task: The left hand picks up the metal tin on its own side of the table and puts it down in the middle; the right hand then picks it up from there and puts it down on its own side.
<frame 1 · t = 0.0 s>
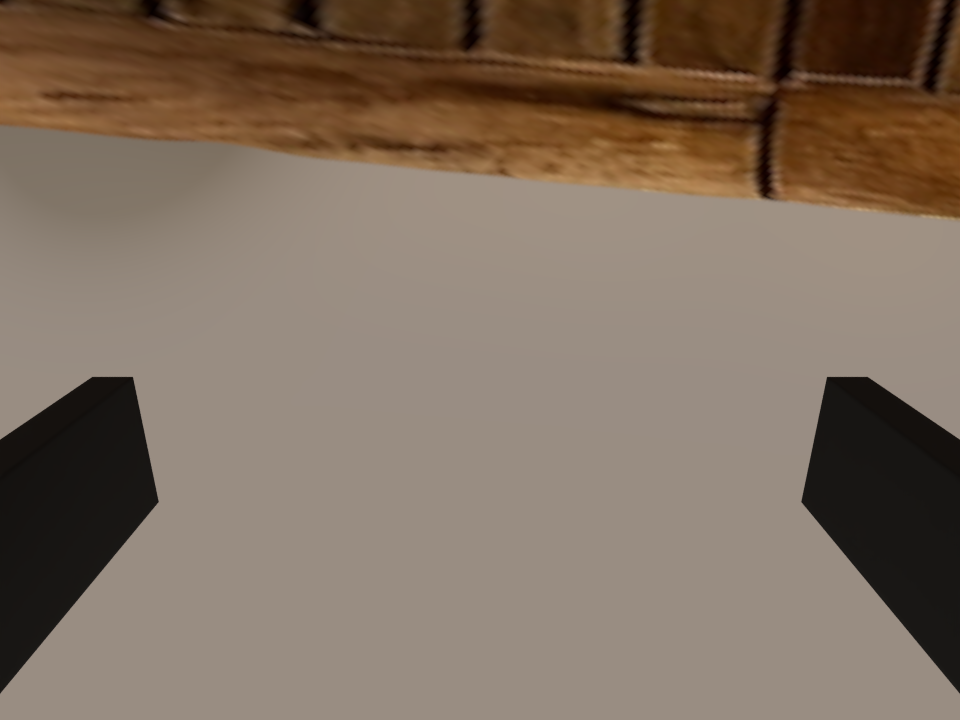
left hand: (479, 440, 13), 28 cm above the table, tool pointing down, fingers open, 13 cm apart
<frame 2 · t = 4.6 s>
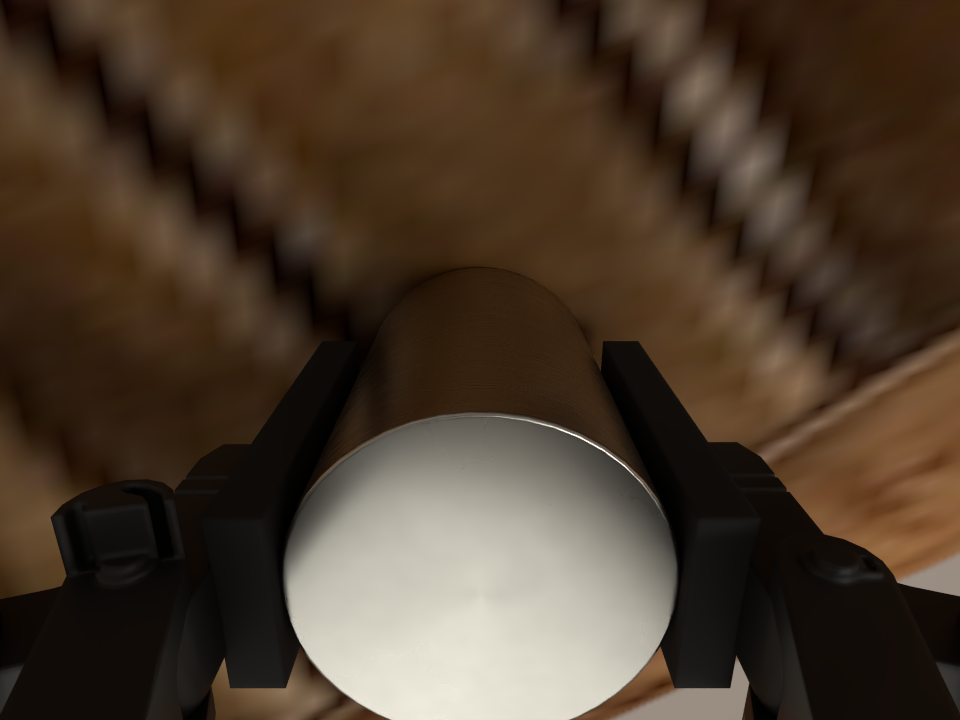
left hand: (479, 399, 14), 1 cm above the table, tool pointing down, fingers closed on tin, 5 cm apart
tin: (480, 374, 16), on the table, touching left hand
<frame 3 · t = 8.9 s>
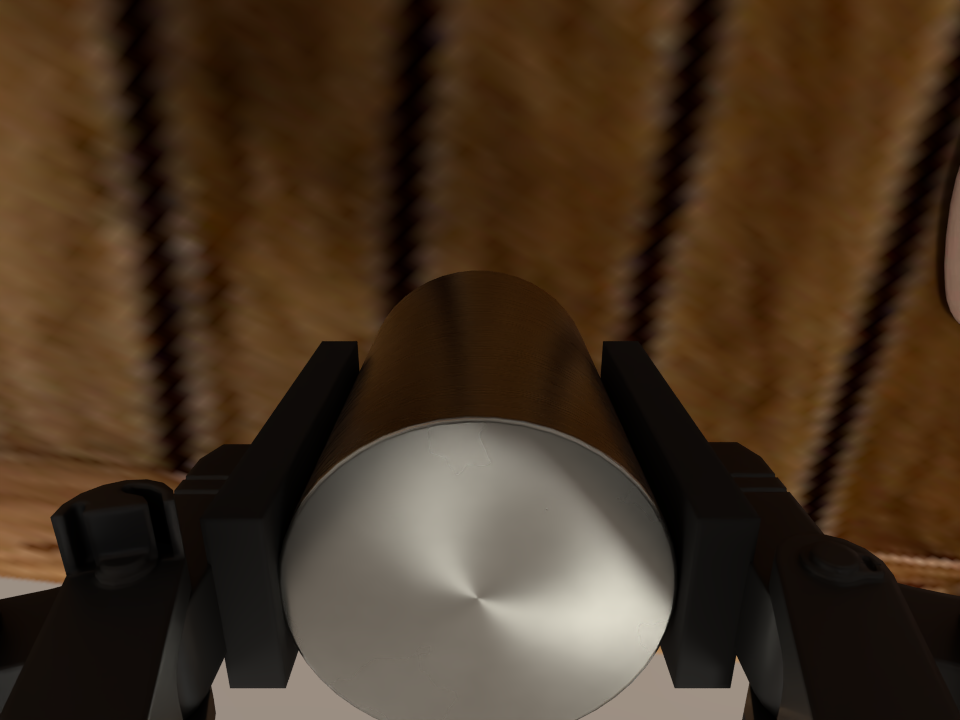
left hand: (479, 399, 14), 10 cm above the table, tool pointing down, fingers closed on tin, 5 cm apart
tin: (478, 376, 16), point 8 cm above the table, touching left hand
when the left hand's fingers open (3 cm above the table, at t = 13.4 s): tin drops 2 cm, on the table.
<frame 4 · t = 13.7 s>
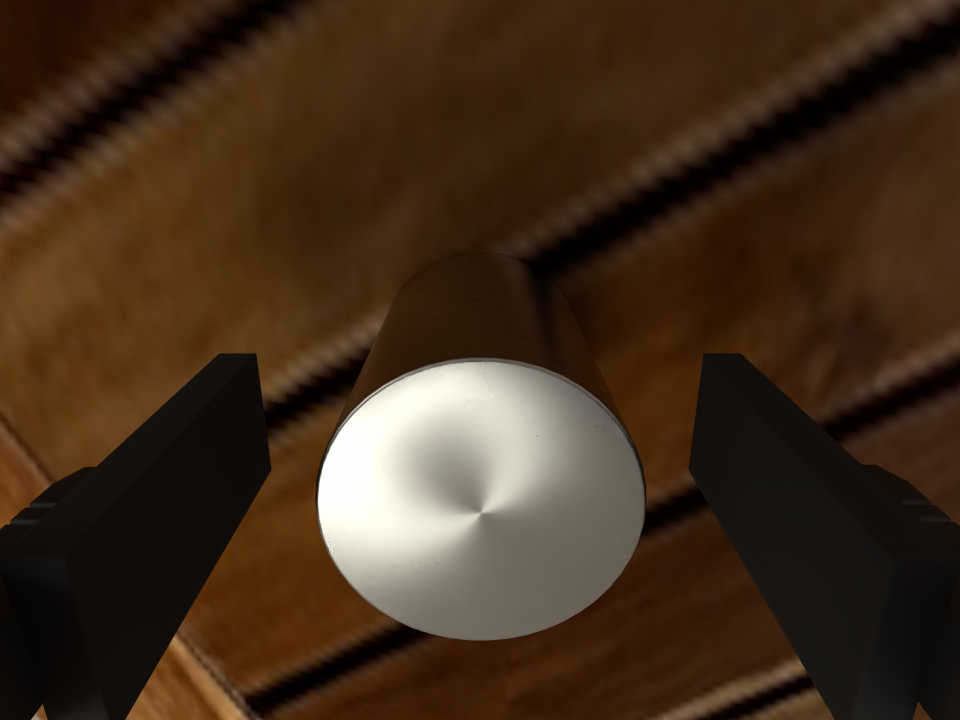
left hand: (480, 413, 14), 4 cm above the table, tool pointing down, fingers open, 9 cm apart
tin: (480, 348, 17), on the table
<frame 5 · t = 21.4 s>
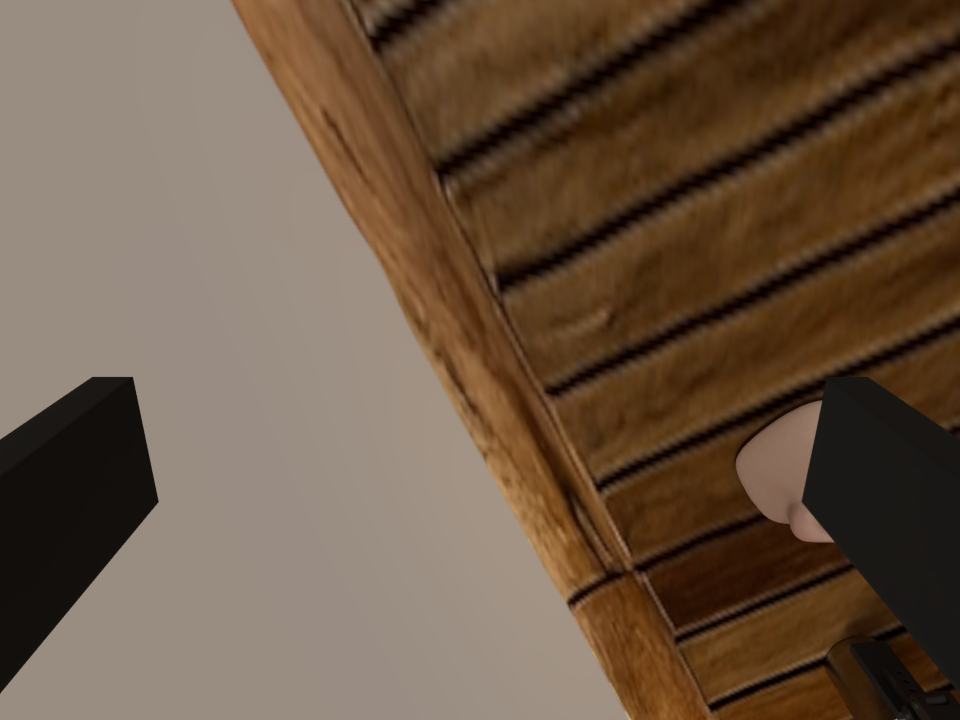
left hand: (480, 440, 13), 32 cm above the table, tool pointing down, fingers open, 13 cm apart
anatomical model: (826, 466, 49), on the table
tin: (855, 659, 56), on the table, touching right hand
when the right hand's fingers open (3 cm above the table, at t = 25.2 s): tin drops 2 cm, on the table.
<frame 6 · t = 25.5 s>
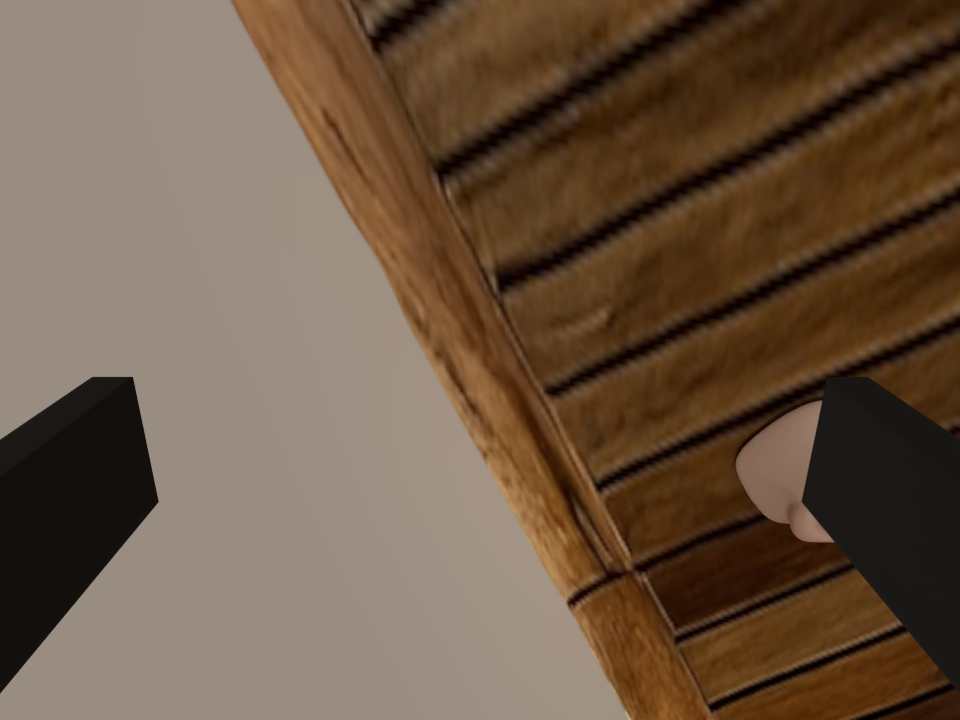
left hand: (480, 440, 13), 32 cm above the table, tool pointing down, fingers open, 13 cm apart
anatomical model: (826, 466, 49), on the table
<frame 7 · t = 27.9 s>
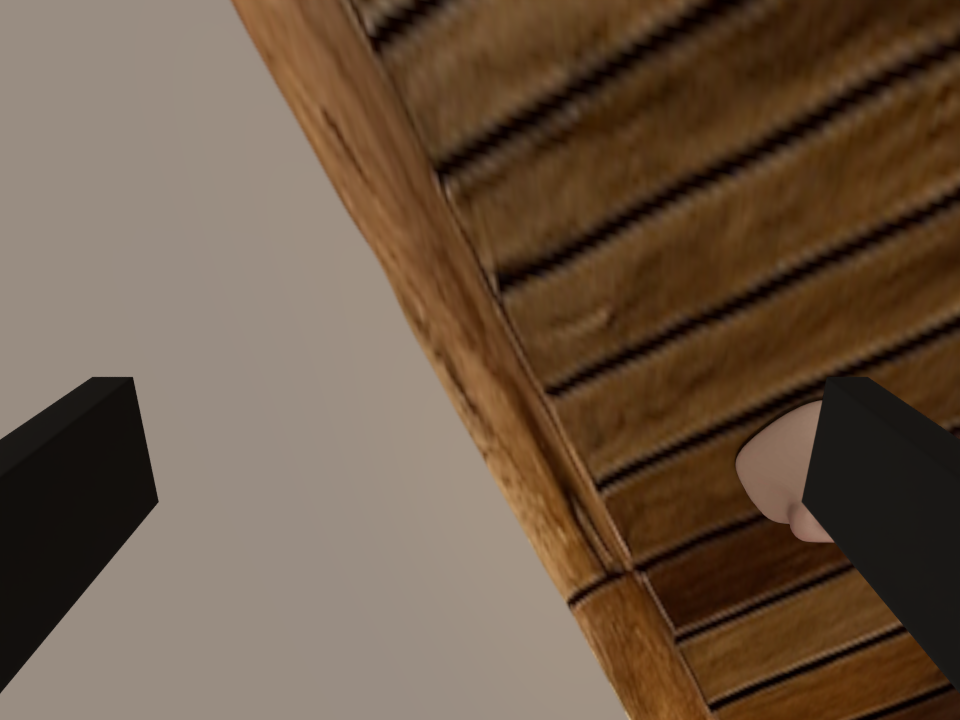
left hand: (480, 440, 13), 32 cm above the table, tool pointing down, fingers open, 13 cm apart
anatomical model: (826, 466, 49), on the table
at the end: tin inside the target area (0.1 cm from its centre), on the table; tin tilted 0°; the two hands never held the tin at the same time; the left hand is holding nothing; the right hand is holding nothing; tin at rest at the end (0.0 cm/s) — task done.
